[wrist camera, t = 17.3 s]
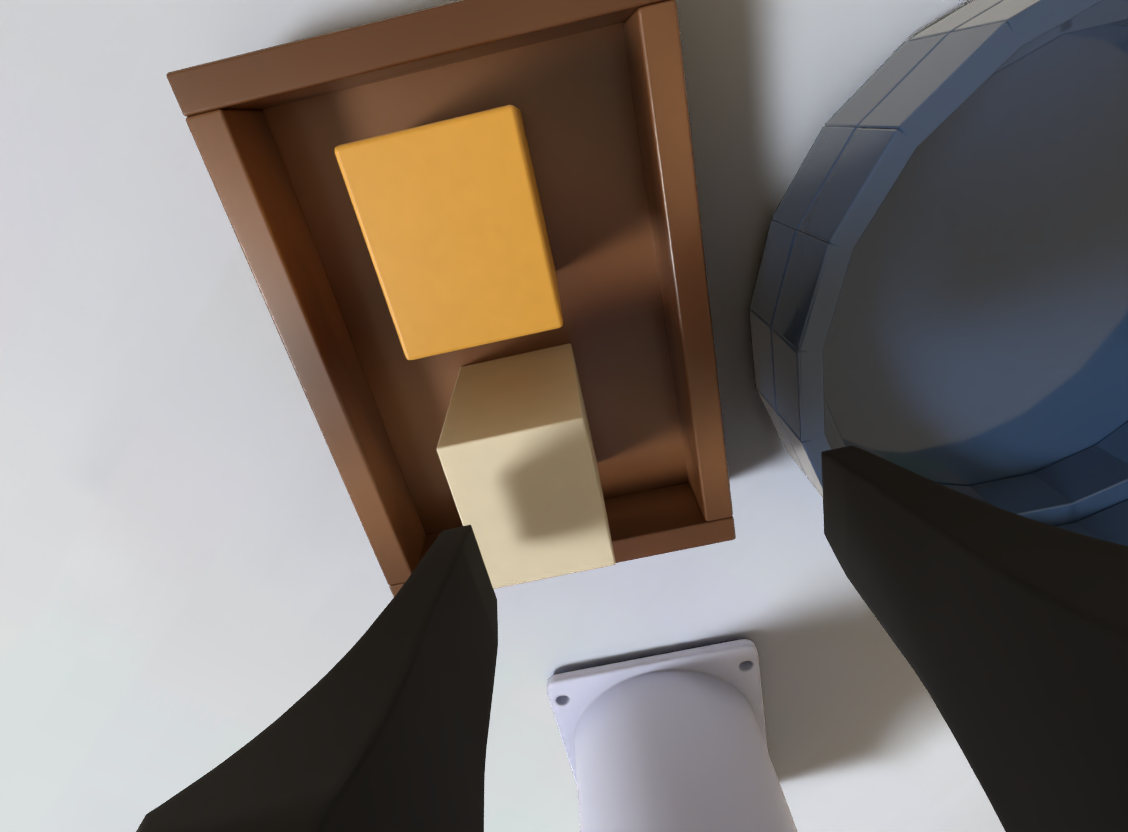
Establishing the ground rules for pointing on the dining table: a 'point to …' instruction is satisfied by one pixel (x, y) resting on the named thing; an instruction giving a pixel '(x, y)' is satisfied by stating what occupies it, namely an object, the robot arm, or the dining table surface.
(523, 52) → the holder
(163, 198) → the dining table surface
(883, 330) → the bowl
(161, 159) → the dining table surface
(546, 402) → the packet cream
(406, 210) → the block
